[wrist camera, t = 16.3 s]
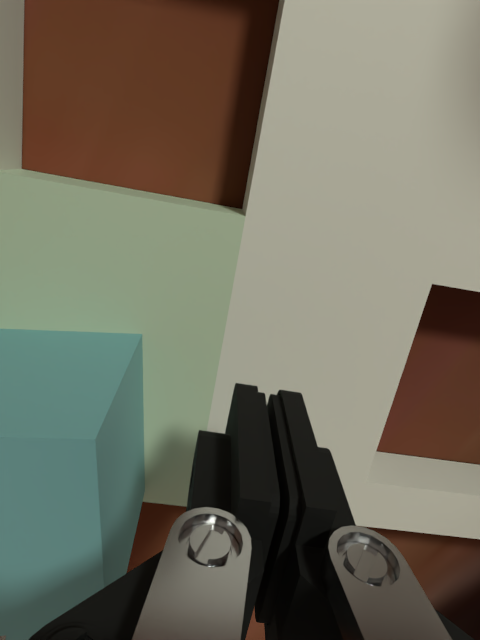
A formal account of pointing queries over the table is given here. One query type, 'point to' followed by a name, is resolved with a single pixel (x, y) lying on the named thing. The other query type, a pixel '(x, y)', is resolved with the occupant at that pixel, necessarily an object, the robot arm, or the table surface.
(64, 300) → the tray
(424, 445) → the table surface
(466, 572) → the table surface
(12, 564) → the block
